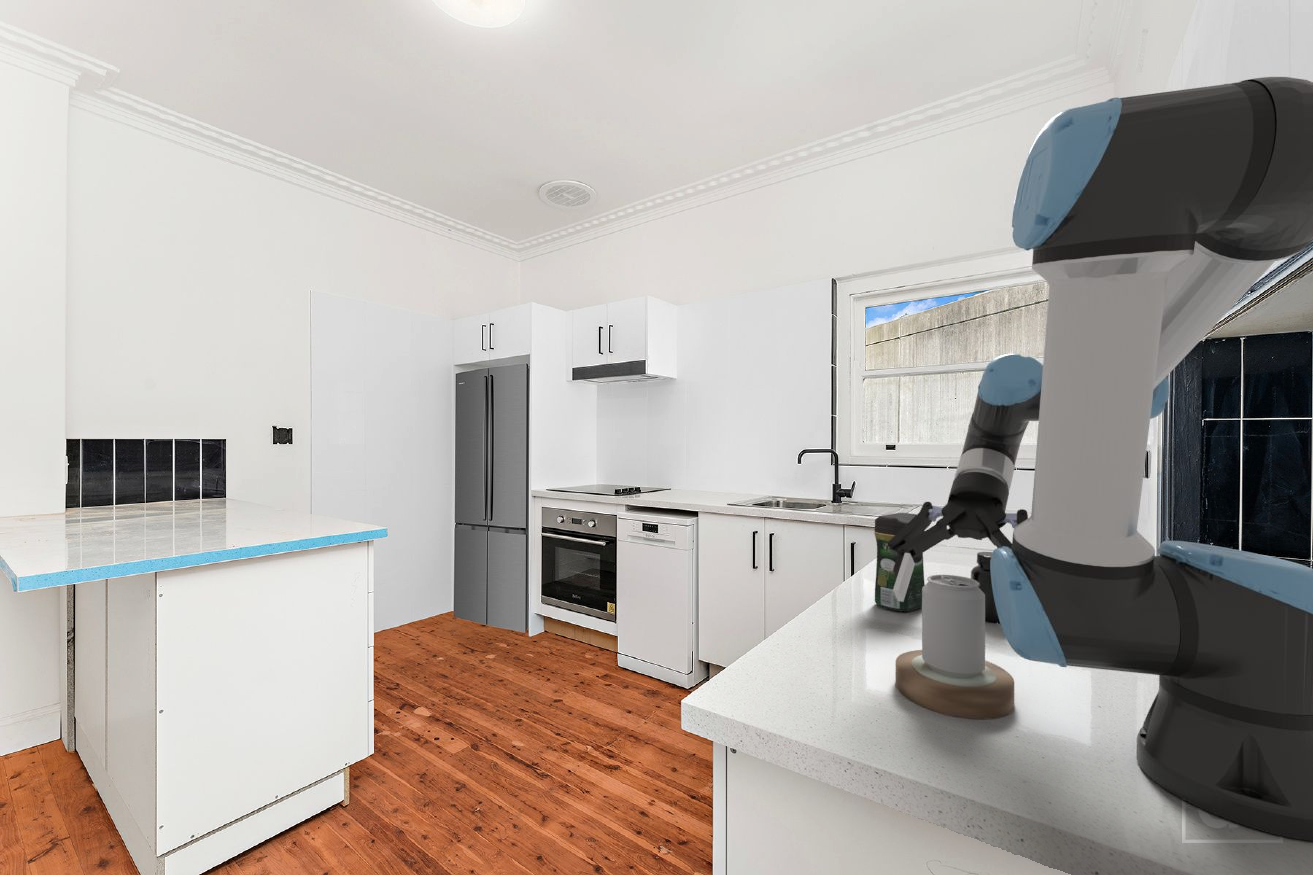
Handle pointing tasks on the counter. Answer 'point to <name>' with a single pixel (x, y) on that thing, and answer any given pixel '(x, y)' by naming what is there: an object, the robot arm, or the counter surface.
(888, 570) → the coffee jar
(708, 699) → the counter surface
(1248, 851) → the counter surface
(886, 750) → the counter surface
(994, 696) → the pedestal
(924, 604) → the can
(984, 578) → the supplement bottle
